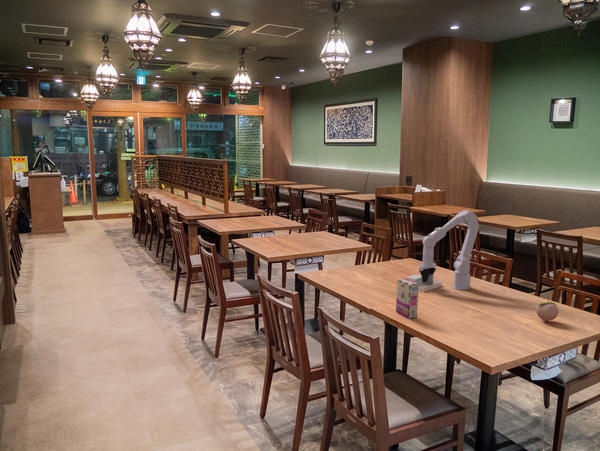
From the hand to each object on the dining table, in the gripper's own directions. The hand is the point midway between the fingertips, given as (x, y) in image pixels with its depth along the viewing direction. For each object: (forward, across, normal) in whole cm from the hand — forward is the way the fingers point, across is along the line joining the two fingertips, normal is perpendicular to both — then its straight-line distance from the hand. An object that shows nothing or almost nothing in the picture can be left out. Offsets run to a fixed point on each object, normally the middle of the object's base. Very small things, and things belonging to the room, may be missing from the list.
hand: (427, 281), depth 271 cm
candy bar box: (+4, +46, +18) cm, 50 cm away
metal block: (+2, 0, 0) cm, 2 cm away
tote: (+4, 0, -4) cm, 6 cm away
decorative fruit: (+4, +7, +67) cm, 67 cm away
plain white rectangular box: (+4, 0, -8) cm, 8 cm away
